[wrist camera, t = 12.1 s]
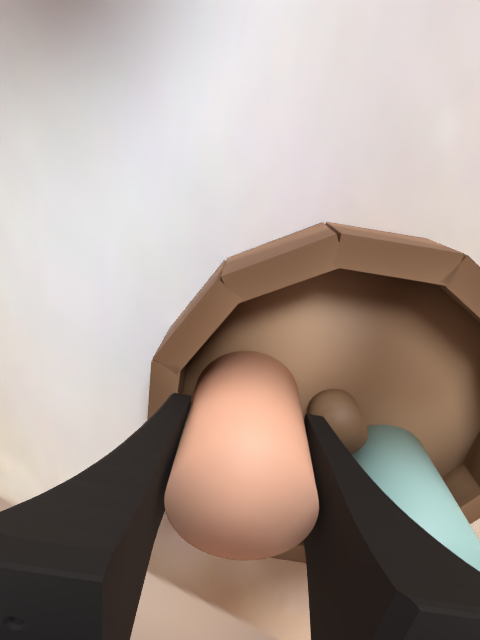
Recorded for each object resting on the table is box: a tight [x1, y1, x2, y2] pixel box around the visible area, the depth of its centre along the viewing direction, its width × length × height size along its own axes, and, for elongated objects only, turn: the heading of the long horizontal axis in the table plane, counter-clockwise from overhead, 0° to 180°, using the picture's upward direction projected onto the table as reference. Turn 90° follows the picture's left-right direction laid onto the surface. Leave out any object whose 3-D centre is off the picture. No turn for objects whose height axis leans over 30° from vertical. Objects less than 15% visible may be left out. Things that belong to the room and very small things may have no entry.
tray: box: [147, 222, 480, 563], centre depth 14 cm, size 14×14×2 cm
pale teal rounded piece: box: [351, 425, 480, 571], centre depth 13 cm, size 4×4×5 cm
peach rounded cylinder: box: [164, 351, 319, 560], centre depth 12 cm, size 4×4×5 cm
